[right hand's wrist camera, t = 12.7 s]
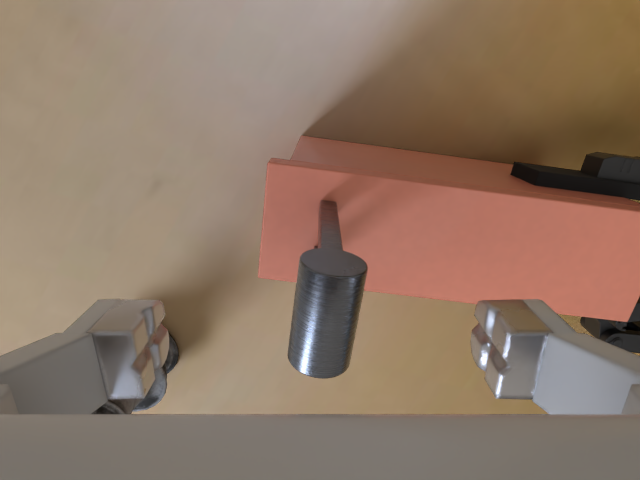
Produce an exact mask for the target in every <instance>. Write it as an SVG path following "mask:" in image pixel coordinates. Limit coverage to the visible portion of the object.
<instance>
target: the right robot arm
mask: <svg viewBox="0 0 640 480" xmlns="http://www.w3.org/2000/svg"><path fill="white" fill-rule="evenodd" d="M165 316H166V315H165V310H164V305H163V303H162V302H161V301H160V300H134V299H122V300H121V299H102V300H97V301H96V302H95V303H94V304H93V305H92V306H91V307H90V308H89V309H88V310H87V311H86V312H85V313H84V314H82V315H81V316H80V317H79V318H78V319H77V320H76V321H75V322H74V323H73V324H72V325H71V326H70V327H69V328H67V329H66V330H65V331H64V332H63V333H55V334H53V335H50V336H48V337H46V338H43V339H41V340H38V341H36V342H33V343H31V344H29V345H26V346H24V347H21V348H19V349H16V350H14V351H12V352H9V353H7V354H4V355H2V356H0V480H640V356H638V355H636V354H633V353H631V352H628V351H626V350H624V349H621V348H619V347H616V346H614V345H611V344H609V343H607V342H604V341H602V340H599V339H597V338H594V337H592V336H590V335H587V334H585V333H577V332H576V331H575V330H574V329H573V328H571V327H570V326H569V325H568V324H567V323H566V322H565V321H564V320H563V319H562V318H561V317H560V316H559V315H558V314H557V313H555V312H554V311H553V310H552V309H551V308H550V307H549V306H548V305H547V304H546V303H545V302H544V301H543V300H540V299H511V300H481V301H478V303H477V305H476V309H475V315H474V316H475V317H476V319H477V320H478V322H479V324H478V325H477V326H476V327H475V328H474V329H473V330H472V334H471V351H472V355H473V358H474V361H475V363H476V364H477V366H478V367H479V368H481V369H482V370H484V371H485V372H486V374H485V380H486V382H487V384H488V386H489V387H490V389H491V391H492V392H493V394H494V396H495V398H497V399H533V400H532V401H533V402H534V403H535V404H537V405H538V406H539V407H541V408H542V409H543V410H545V411H546V412H547V413H549V414H91V413H93V412H94V411H95V410H97V409H98V408H99V407H101V406H102V405H103V404H105V403H106V402H107V401H108V400H107V399H142V398H145V396H146V394H147V393H148V391H149V389H150V387H151V386H152V384H153V382H154V380H155V374H154V372H155V371H156V370H158V369H159V368H161V367H162V366H163V364H164V363H165V361H166V359H167V355H168V350H169V334H168V330H167V329H166V328H165V327H164V326H163V325H162V324H161V322H162V320H163V319H164V317H165Z"/></svg>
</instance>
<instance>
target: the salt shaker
mask: <svg viewBox="0 0 640 480" xmlns="http://www.w3.org/2000/svg"><path fill="white" fill-rule="evenodd" d="M178 356H179V355H178V348H177V345H176V343H175V341H174V340H173V339H172V337H171V336H170V335H169V350H168V355H167V359H166V361H165V363H164V364H163V366H162V367H161V368H159V369H158V370H156V371H155V372H154V374H155V380H154V382H153V384H152V386H151V387H150V389H149V391H148V393H147V394H146V396H145V398H142V399H107V400H108V401H107V402H106V403H105V404H103V405H102V406H101V407H99V408H98V409H97V410H95V411H94V412H93V413H91V414H131V413H132V411H141V410H146V409H149V408H151V407H153V406H155V405H156V404H157V403H158V402H160V401H161V399H162V398H163V396H164V394H165V393H166V388H167V380H166V378H167V373H169V372H170V371H171V370H172V369H173V368H174V366H175V365H176V363H177V360H178Z"/></svg>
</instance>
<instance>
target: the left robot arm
mask: <svg viewBox="0 0 640 480" xmlns="http://www.w3.org/2000/svg"><path fill="white" fill-rule="evenodd" d="M510 175H512V176H514V177H516V178H519V179H521V180H523V181H525V182H528V183H530V184H532V185H534V186H541V187H549V188H556V189H564V190H571V191H579V192H586V193H594V194H601V195H608V196H616V197H623V198H627V199H634V200H640V157H629V156H622V155H614V154H607V153H600V152H595V153H591V154H587V155H586V157H585V160H584V163H583V165H582V168H581V171H577V170H570V169H563V168H556V167H548V166H541V165H534V164H526V163H519V162H514V164H513V168H512V171H511V174H510ZM580 323H581V325H582V326H583V327H584V328H585V329H586V330H587V331H588V332H589V333H591V334H592V335H593V336H594V337H595V338H597V339H599V340H602V341H604V342H607V343H609V344H611V345H614V346H616V347H619V348H621V349H624V350H626V351H628V352H634V353H640V297H639V299H638V301H637V303H636V305H635V307H634V309H633V312H632V314H631V316H630V318H629V320H628V321H627V322H623V321H614V320H606V319H598V318H589V317H582V318H581V321H580Z"/></svg>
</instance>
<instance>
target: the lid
mask: <svg viewBox="0 0 640 480" xmlns="http://www.w3.org/2000/svg"><path fill="white" fill-rule="evenodd" d="M258 277H259V278H265V279H273V280H281V281H290V282H297V283H296V291H295V299H294V307H293V315H292V323H291V331H290V339H289V347H288V359H289V361H290V363H291V365H292V366H293V367H294V368H295V369H296V370H298V371H299V372H301V373H303V374H305V375H308V376H311V377H315V378H332V377H336V376H339V375H341V374H342V373H344V372H345V371H346V370H347V368H348V367H349V364H350V359H351V354H352V349H353V344H354V338H355V333H356V328H357V323H358V318H359V312H360V307H361V302H362V297H363V292H364V290H365V291H373V292H381V293H390V294H398V295H406V296H415V297H423V298H431V299H440V300H448V301H456V302H465V303H473V304H477V303H478V301H481V300H511V299H540V300H543V301H544V302H545V303H546V304H547V305H548V306H549V307H550V308H551V309H552V310H553V311H554V312H555V313H557V314H564V315H573V316H581V317H589V318H598V319H606V320H614V321H623V322H627V321H628V320H629V318H630V316H631V314H632V312H633V309H634V307H635V305H636V303H637V301H638V299H639V297H640V207H635V206H628V205H620V204H613V203H605V202H598V201H590V200H583V199H575V198H568V197H560V196H553V195H545V194H538V193H530V192H523V191H516V190H508V189H501V188H493V187H486V186H478V185H471V184H463V183H456V182H448V181H441V180H433V179H426V178H418V177H411V176H403V175H396V174H388V173H381V172H373V171H366V170H358V169H351V168H343V167H336V166H328V165H321V164H314V163H306V162H299V161H291V160H284V159H276V158H271V159H270V161H269V162H268V164H267V176H266V188H265V199H264V211H263V223H262V235H261V246H260V258H259V270H258Z"/></svg>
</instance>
